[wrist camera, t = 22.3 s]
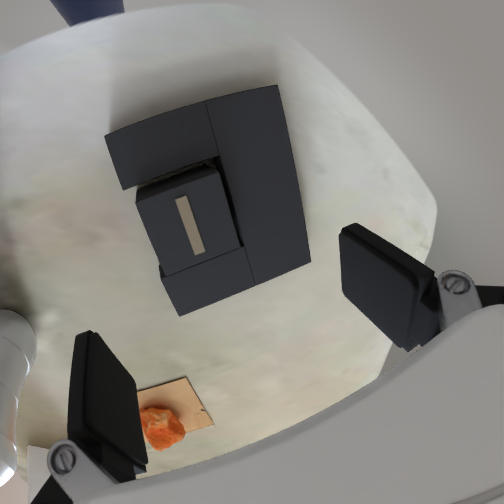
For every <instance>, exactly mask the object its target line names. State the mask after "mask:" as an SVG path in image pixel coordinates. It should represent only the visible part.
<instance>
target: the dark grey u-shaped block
mask: <svg viewBox="0 0 504 504" xmlns="http://www.w3.org/2000/svg"><path fill="white" fill-rule="evenodd" d="M104 137H105V141H106V144H107V147H108V150H109V153H110V156H111V158H112V161H113V164H114V167H115V170H116V173H117V175H118V178H119V181H120V184H121V186H122V189H123V190H126V189H128V188H131V187H133V186H136V185H138V184H141V183H143V182H146V181H148V180H151V179H153V178H156V177H159V176H161V175H164V174H167V173H169V172H172V171H175V170H178V169H180V168H183V167H186V166H189V165H192V164H195V163H198V162H201V161H204V160H207V159H210V158H213V157H214V160H215V164H216V167H217V171H218V172H219V173H220V177H221V180H222V184H223V188H224V191H225V195H226V198H227V202H228V205H229V209H230V212H231V216H232V219H233V223H234V226H235V230H236V233H237V237H238V240H239V244H240V247H239V248H236V249H234V250H231V251H229V252H226V253H224V254H221V255H218V256H216V257H213V258H211V259H208V260H206V261H203V262H201V263H198V264H196V265H193V266H190V267H188V268H185V269H183V270H180V271H178V272H175V273H173V274H170V275H168V276H166V275H165V273H164V271H163V269H162V266H161V264H160V265H159V271H160V277H161V281H162V283H163V285H164V287H165V289H166V291H167V293H168V295H169V297H170V299H171V301H172V303H173V305H174V307H175V309H176V311H177V313H178V315H179V316H182V315H185V314H188V313H190V312H193V311H195V310H198V309H200V308H203V307H205V306H208V305H210V304H213V303H215V302H217V301H220V300H222V299H225V298H227V297H230V296H232V295H235V294H237V293H239V292H242V291H244V290H247V289H249V288H251V287H254V286H255V285H259V284H261V283H263V282H266V281H268V280H270V279H273V278H275V277H278V276H280V275H282V274H285V273H287V272H289V271H292V270H294V269H296V268H298V267H301V266H303V265H305V264H308V263H310V262H311V257H310V250H309V244H308V237H307V231H306V225H305V219H304V213H303V207H302V201H301V195H300V190H299V184H298V179H297V174H296V168H295V163H294V158H293V153H292V148H291V143H290V138H289V134H288V129H287V124H286V120H285V115H284V111H283V106H282V102H281V98H280V93H279V89H278V85H272V86H266V87H261V88H256V89H251V90H246V91H242V92H237V93H233V94H229V95H225V96H221V97H217V98H213V99H209V100H205V101H202V102H198V103H195V104H191V105H188V106H184V107H181V108H178V109H175V110H172V111H169V112H165V113H162V114H160V115H157V116H154V117H151V118H148V119H145V120H143V121H140V122H137V123H135V124H132V125H129V126H127V127H124V128H122V129H119V130H117V131H114V132H112V133H110V134H107V135H105V136H104Z"/></svg>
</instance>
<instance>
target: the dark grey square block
mask: <svg viewBox="0 0 504 504" xmlns="http://www.w3.org/2000/svg"><path fill="white" fill-rule="evenodd" d="M135 204H136V206H137V209H138V212H139V214H140V217H141V219H142V222H143V224H144V227H145V229H146V231H147V234H148V236H149V239H150V241H151V243H152V246H153V248H154V250H155V253H156V255H157V257H158V260H159V262H160V264H161V266H162V269H163V271H164V273H165V275H166V276H168V275H170V274H173V273H175V272H178V271H180V270H183V269H185V268H188V267H190V266H193V265H196V264H198V263H201V262H203V261H206V260H208V259H211V258H213V257H216V256H218V255H221V254H224V253H226V252H229V251H231V250H234V249H236V248H239V247H240V244H239V240H238V237H237V233H236V230H235V226H234V223H233V219H232V216H231V212H230V209H229V205H228V202H227V198H226V195H225V191H224V188H223V184H222V180H221V177H220V173H219V172H218V171H217V170H215V169H214V168H212V167H210V166H209V165H207V164H206V165H203V166H200V167H197V168H194V169H191V170H188V171H186V172H183V173H180V174H177V175H174V176H172V177H169V178H166V179H164V180H161V181H158V182H156V183H153V184H151V185H148V186H145V187H143V188H140V189H138V190H137V192H136V202H135Z"/></svg>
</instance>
